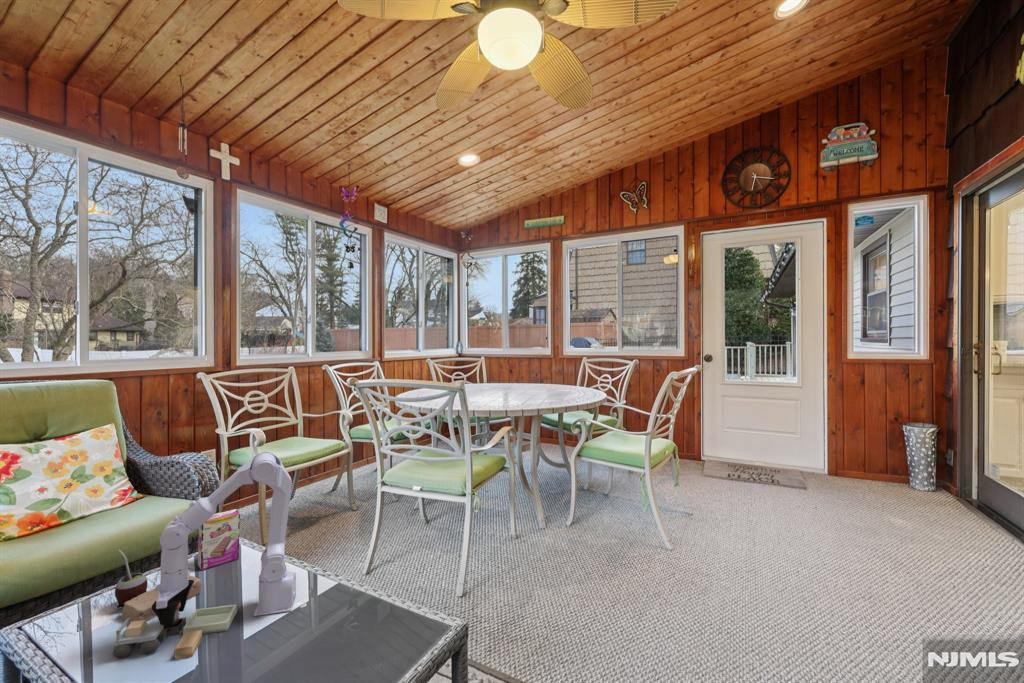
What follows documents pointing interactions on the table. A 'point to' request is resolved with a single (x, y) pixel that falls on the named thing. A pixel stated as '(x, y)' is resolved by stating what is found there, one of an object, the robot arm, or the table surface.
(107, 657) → the table surface
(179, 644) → the block
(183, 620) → the socket
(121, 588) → the mate gourd
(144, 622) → the trolley
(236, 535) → the candy bar box
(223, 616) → the tray
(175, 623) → the pin
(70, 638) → the table surface
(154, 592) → the brick
